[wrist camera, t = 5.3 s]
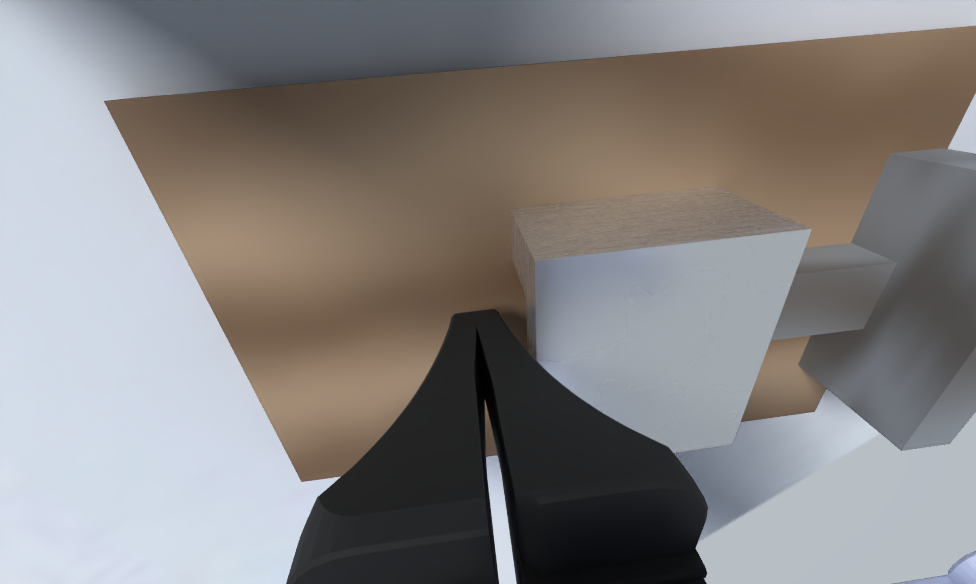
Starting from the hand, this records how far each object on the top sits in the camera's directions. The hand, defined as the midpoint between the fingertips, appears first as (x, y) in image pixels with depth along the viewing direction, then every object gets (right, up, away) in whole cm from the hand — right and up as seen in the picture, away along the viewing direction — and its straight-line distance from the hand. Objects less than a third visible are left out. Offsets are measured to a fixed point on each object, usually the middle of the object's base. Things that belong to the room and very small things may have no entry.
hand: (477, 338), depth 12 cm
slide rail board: (+3, +1, +2) cm, 4 cm away
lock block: (+4, +1, +1) cm, 4 cm away
